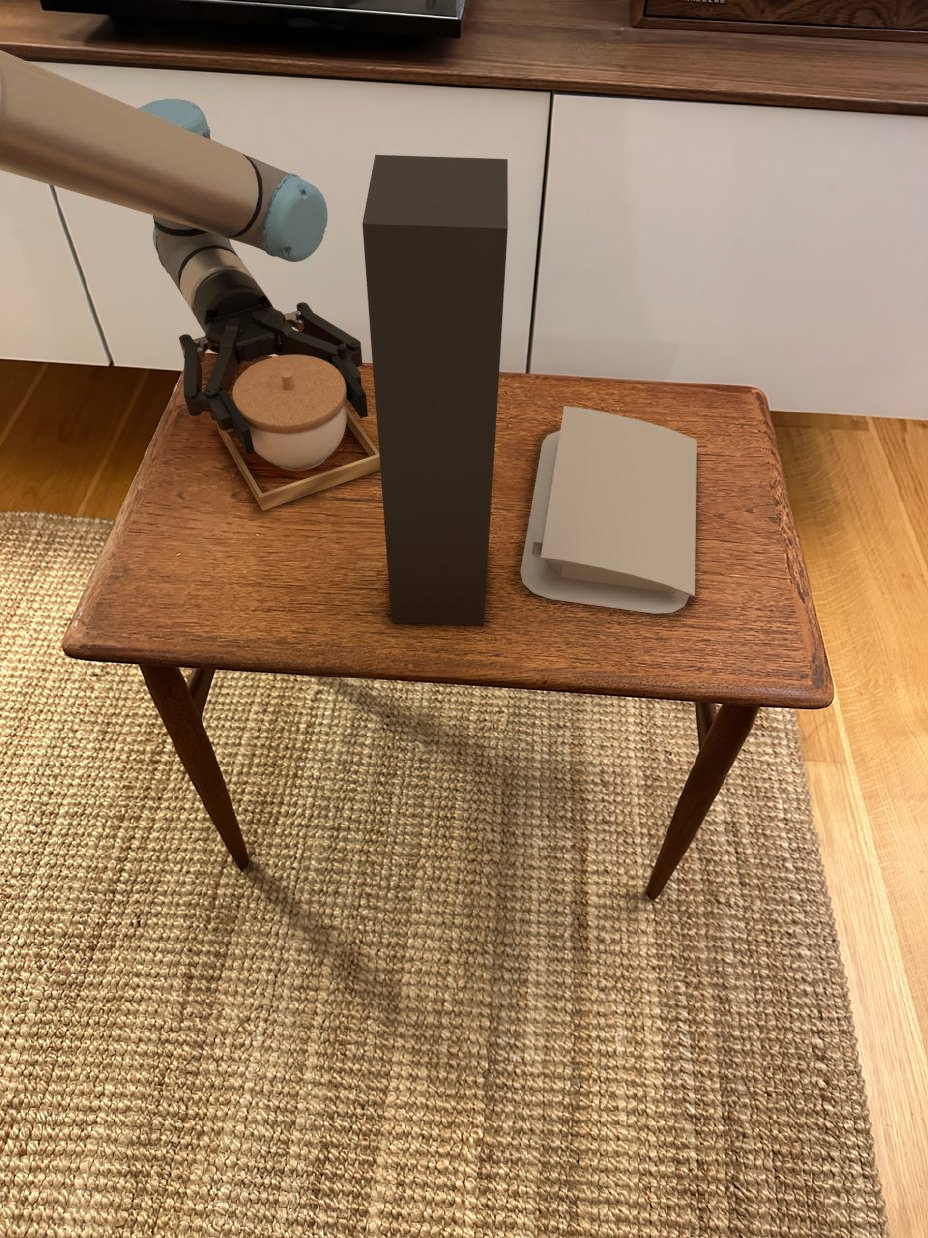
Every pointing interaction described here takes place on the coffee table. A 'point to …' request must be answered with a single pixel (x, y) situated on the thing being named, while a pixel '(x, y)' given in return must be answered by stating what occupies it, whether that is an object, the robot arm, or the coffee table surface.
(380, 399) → the pedestal
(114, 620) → the coffee table surface
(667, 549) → the beige covered tray
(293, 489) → the empty wooden frame
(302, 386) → the trinket box
